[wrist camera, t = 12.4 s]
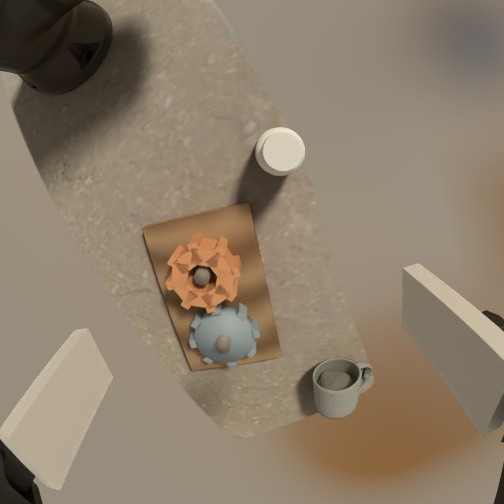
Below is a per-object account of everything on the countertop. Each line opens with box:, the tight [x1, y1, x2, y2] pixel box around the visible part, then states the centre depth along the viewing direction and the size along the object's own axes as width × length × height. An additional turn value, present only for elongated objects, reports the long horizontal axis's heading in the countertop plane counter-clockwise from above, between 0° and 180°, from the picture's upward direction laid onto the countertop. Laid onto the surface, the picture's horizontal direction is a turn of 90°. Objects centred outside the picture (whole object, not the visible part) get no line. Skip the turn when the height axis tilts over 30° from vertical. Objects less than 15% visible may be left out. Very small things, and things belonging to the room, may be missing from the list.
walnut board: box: [142, 202, 282, 371], centre depth 40 cm, size 23×14×6 cm, turn 12°
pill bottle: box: [254, 127, 305, 176], centre depth 33 cm, size 5×5×9 cm
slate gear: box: [189, 303, 260, 367], centre depth 41 cm, size 10×10×2 cm
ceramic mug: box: [312, 358, 372, 419], centre depth 44 cm, size 11×8×8 cm
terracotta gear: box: [165, 233, 241, 313], centre depth 37 cm, size 9×9×4 cm
